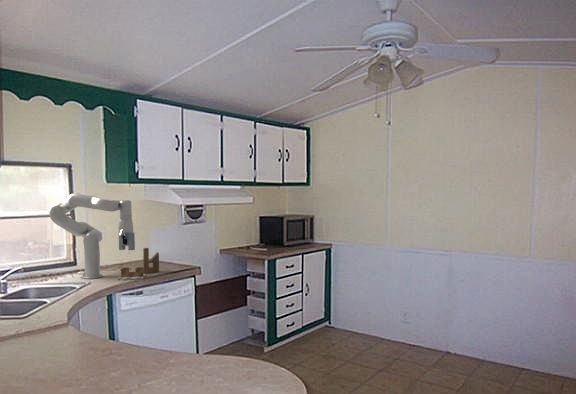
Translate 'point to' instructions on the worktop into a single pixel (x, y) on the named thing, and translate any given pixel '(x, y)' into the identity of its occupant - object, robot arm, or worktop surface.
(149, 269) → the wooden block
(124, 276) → the slotted base
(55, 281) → the worktop surface
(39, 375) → the worktop surface
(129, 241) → the slotted plate
